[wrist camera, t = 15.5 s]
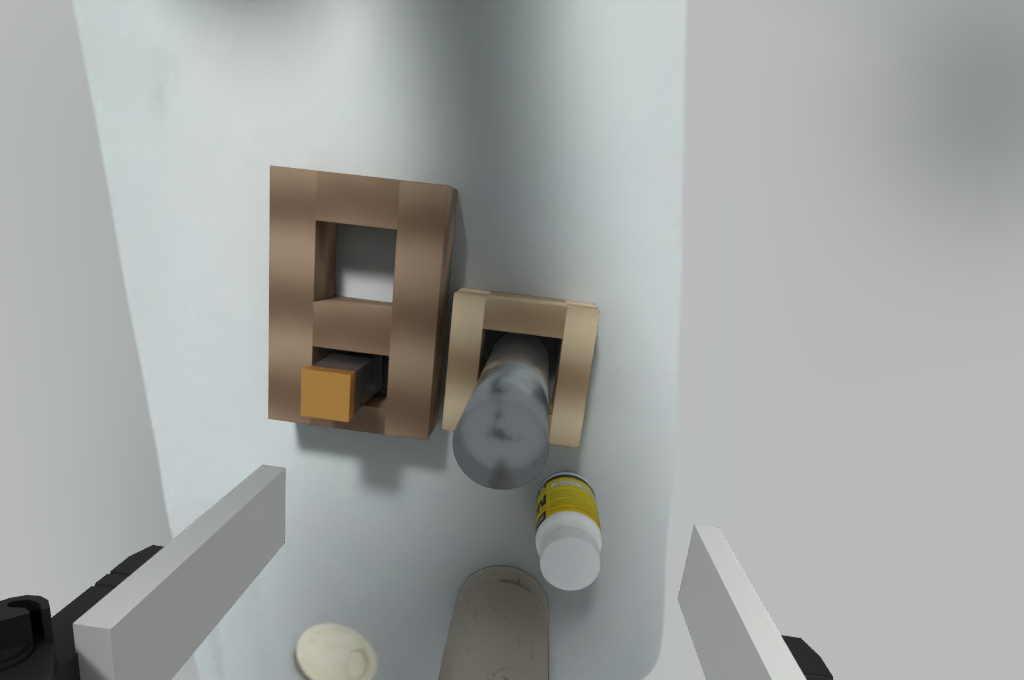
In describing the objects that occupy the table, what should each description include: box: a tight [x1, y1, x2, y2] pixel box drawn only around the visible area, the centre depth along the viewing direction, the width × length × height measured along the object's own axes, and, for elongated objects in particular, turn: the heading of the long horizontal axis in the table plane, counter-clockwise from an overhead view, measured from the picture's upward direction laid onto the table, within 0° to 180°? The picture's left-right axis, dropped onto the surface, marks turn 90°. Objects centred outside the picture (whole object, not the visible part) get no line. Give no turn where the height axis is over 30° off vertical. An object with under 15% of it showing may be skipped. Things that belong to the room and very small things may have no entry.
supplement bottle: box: [535, 472, 603, 591], centre depth 36 cm, size 5×5×8 cm
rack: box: [442, 288, 600, 448], centre depth 37 cm, size 10×10×4 cm
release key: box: [300, 350, 383, 422], centre depth 35 cm, size 3×3×7 cm
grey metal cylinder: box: [453, 332, 549, 490], centre depth 30 cm, size 4×4×16 cm
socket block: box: [268, 166, 457, 440], centre depth 36 cm, size 18×12×4 cm, turn 173°
